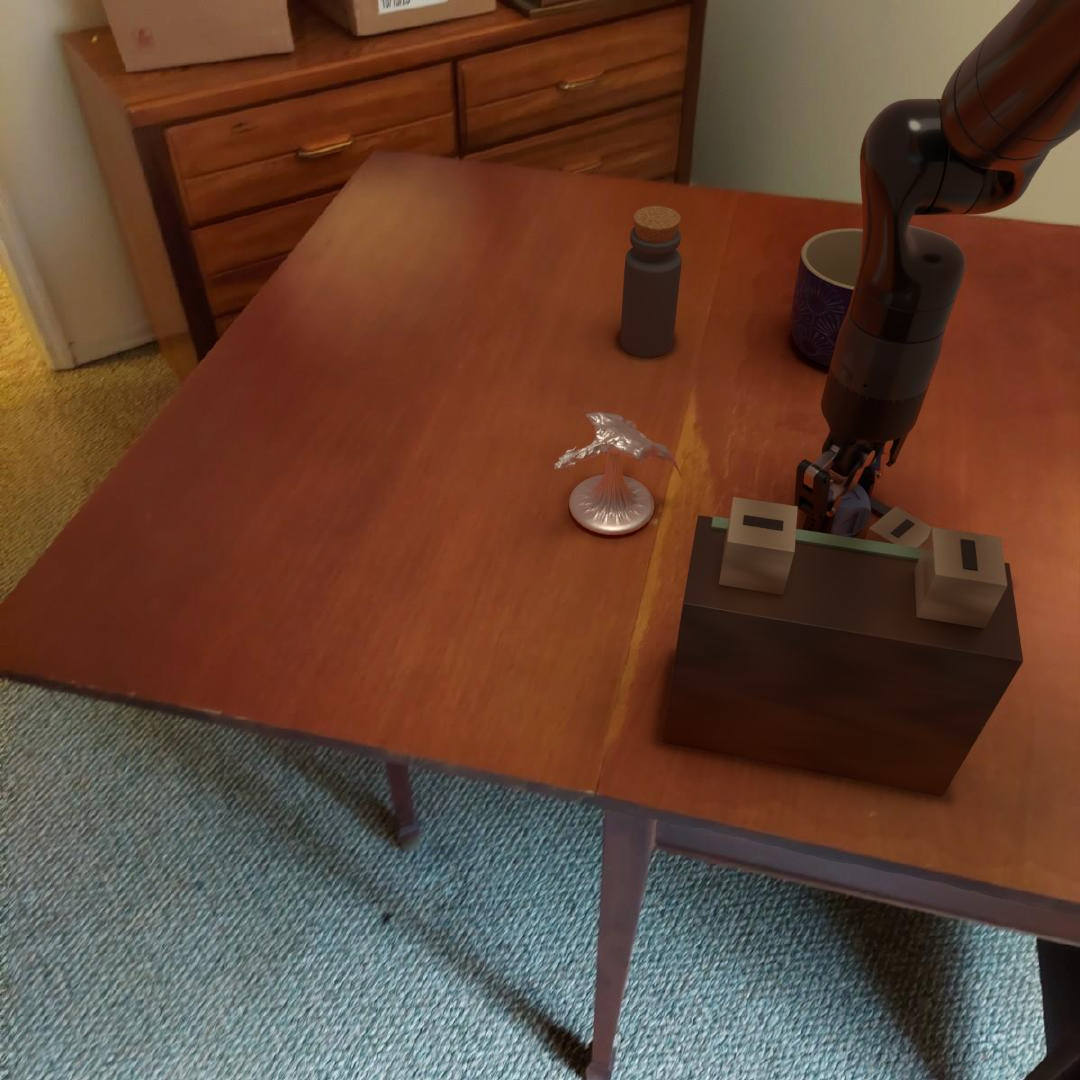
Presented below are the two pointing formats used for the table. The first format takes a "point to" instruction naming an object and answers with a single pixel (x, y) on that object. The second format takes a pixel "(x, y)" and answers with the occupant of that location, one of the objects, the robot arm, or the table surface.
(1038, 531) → the table surface
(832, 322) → the planter
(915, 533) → the beige cubes with bar
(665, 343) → the bottle
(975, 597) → the dark brown block
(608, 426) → the figurine
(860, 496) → the decorative dice
